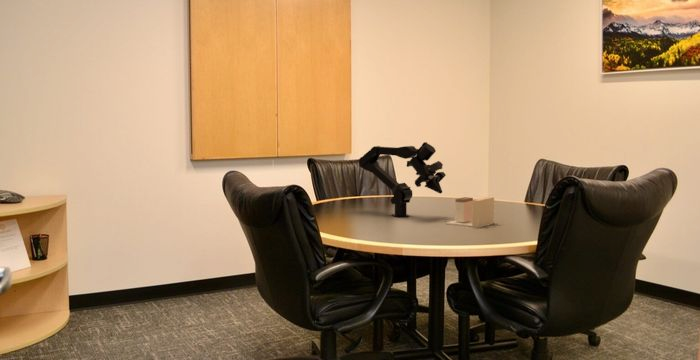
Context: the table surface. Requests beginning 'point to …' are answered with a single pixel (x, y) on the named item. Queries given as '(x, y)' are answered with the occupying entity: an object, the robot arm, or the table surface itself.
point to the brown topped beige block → (463, 209)
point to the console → (479, 213)
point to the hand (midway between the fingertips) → (441, 192)
